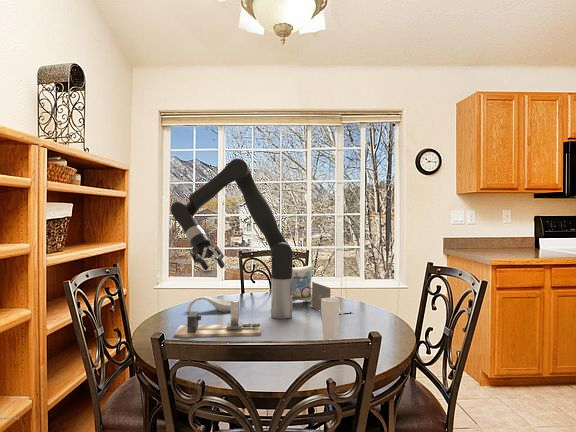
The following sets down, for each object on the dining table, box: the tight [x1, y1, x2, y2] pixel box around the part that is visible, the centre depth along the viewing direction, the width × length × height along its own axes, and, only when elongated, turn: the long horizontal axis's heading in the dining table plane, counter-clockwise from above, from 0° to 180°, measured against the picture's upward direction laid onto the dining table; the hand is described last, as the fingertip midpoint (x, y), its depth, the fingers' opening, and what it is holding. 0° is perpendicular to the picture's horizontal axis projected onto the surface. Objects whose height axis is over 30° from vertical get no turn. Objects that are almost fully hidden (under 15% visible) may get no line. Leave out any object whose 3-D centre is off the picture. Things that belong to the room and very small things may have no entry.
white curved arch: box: [187, 295, 232, 314], centre depth 186 cm, size 24×12×7 cm, turn 106°
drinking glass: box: [320, 297, 341, 341], centre depth 143 cm, size 7×7×15 cm
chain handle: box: [226, 300, 261, 330], centre depth 154 cm, size 13×5×10 cm, turn 95°
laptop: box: [311, 281, 341, 313], centre depth 188 cm, size 18×12×13 cm
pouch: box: [292, 263, 314, 302], centre depth 203 cm, size 8×19×20 cm, turn 114°
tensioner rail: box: [173, 310, 262, 338], centre depth 153 cm, size 32×12×7 cm, turn 95°
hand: (215, 268), depth 160 cm, fingers open, 8 cm apart
